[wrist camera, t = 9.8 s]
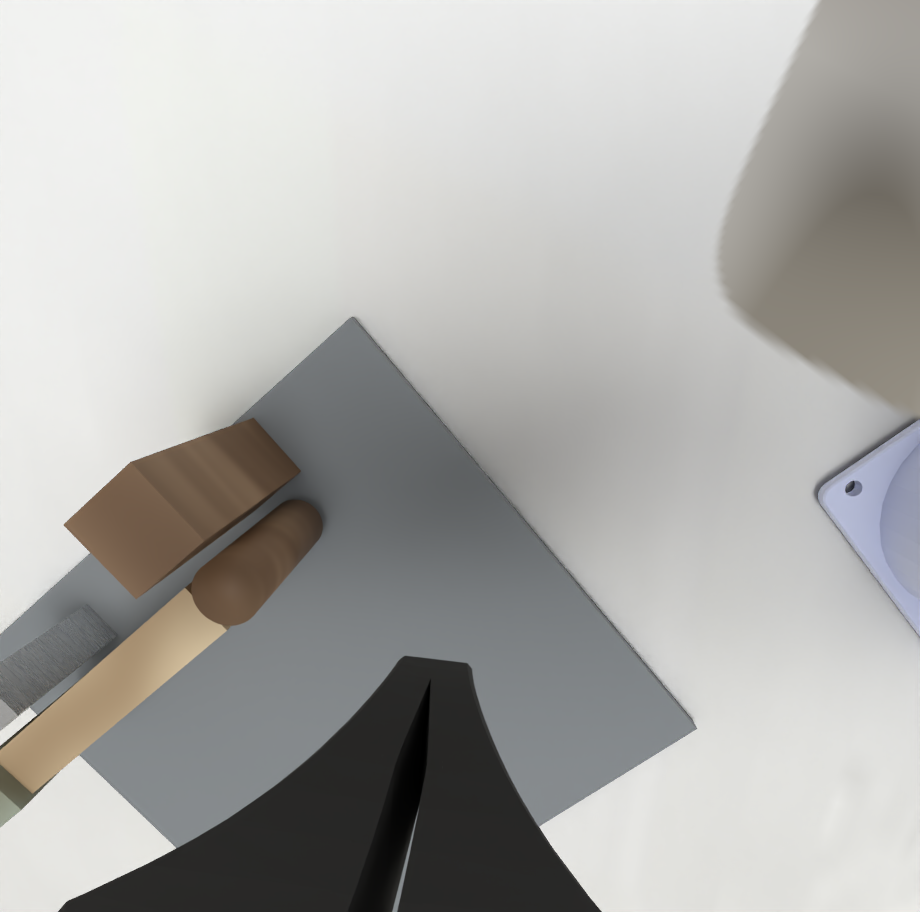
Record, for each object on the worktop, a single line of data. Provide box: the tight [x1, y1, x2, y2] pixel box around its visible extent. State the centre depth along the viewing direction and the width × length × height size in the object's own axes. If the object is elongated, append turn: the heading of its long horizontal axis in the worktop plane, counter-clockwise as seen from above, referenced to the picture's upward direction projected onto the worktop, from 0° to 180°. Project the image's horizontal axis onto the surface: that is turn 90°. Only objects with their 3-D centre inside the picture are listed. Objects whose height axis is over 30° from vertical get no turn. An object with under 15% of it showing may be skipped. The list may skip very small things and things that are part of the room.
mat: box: [0, 317, 697, 912], centre depth 22 cm, size 20×19×1 cm
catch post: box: [0, 604, 118, 731], centre depth 19 cm, size 2×2×5 cm
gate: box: [0, 500, 323, 827], centre depth 18 cm, size 2×12×5 cm, turn 131°
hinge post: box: [64, 418, 301, 599], centre depth 17 cm, size 2×2×7 cm
